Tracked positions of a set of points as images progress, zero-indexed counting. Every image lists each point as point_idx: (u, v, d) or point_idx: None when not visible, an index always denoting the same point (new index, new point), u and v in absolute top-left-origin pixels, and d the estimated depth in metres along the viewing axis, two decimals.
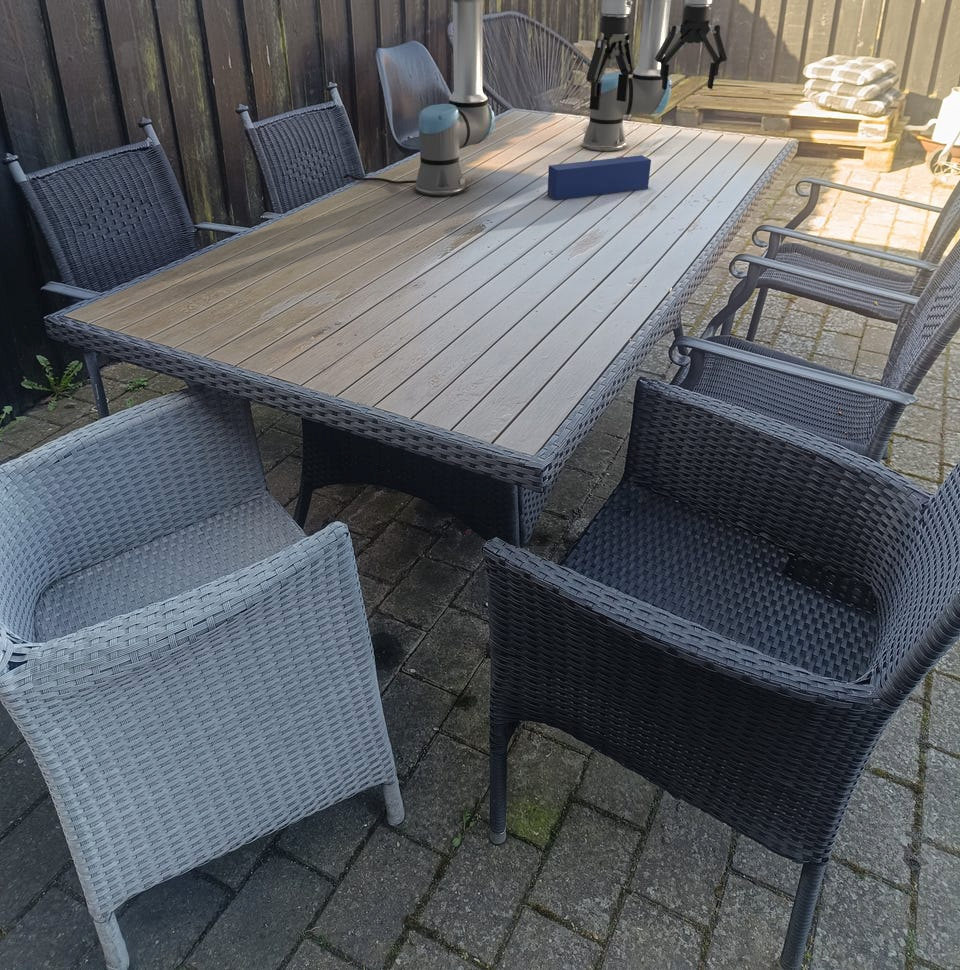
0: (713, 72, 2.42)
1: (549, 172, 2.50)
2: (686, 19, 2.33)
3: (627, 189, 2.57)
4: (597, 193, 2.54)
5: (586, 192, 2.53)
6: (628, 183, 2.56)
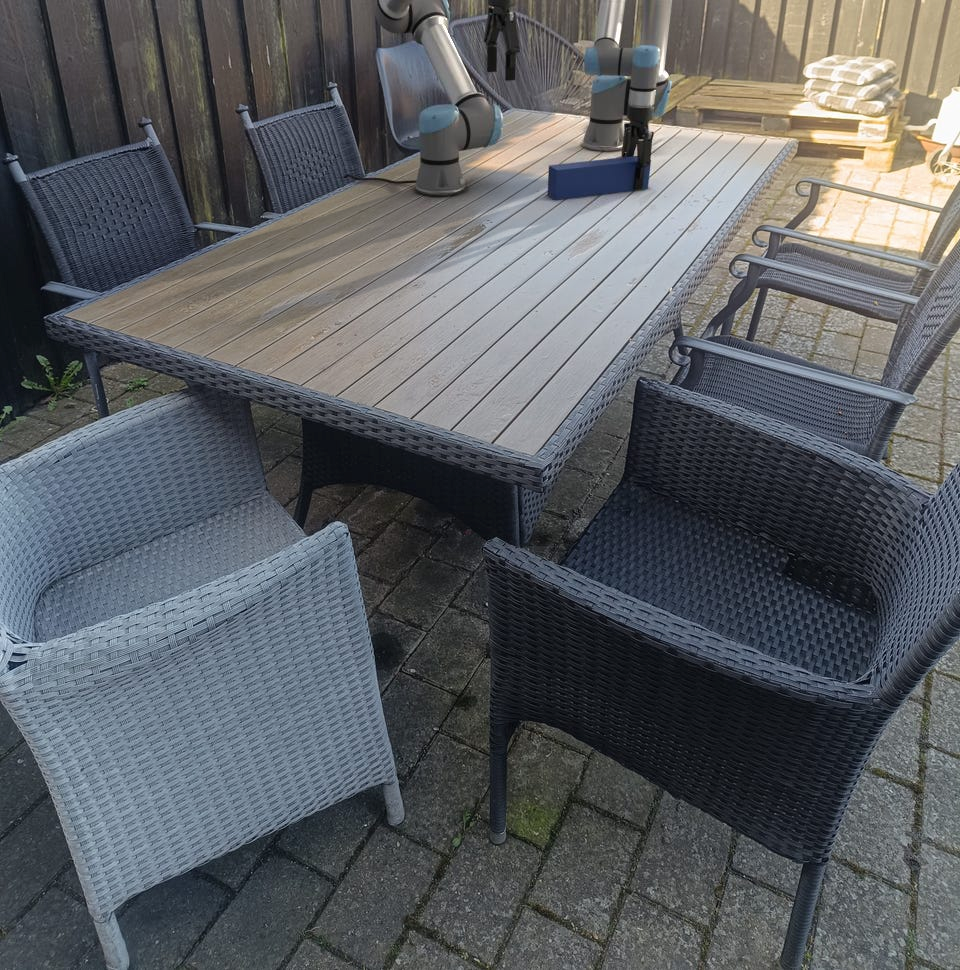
0: None
1: (549, 172, 2.50)
2: (650, 119, 2.47)
3: (627, 189, 2.57)
4: (597, 193, 2.54)
5: (586, 192, 2.53)
6: (628, 183, 2.56)
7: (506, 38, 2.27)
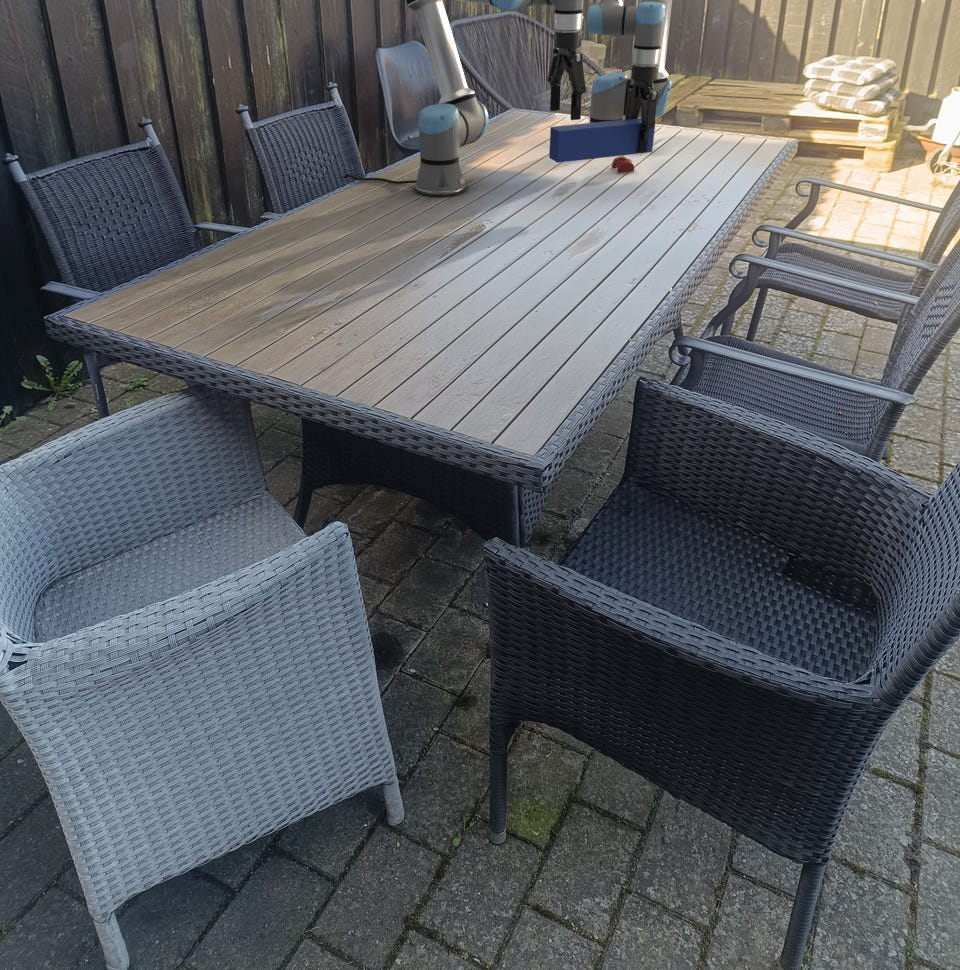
0: None
1: (551, 134, 2.44)
2: (655, 78, 2.40)
3: (631, 152, 2.51)
4: (600, 156, 2.48)
5: (589, 155, 2.46)
6: (632, 146, 2.50)
7: (572, 79, 2.29)
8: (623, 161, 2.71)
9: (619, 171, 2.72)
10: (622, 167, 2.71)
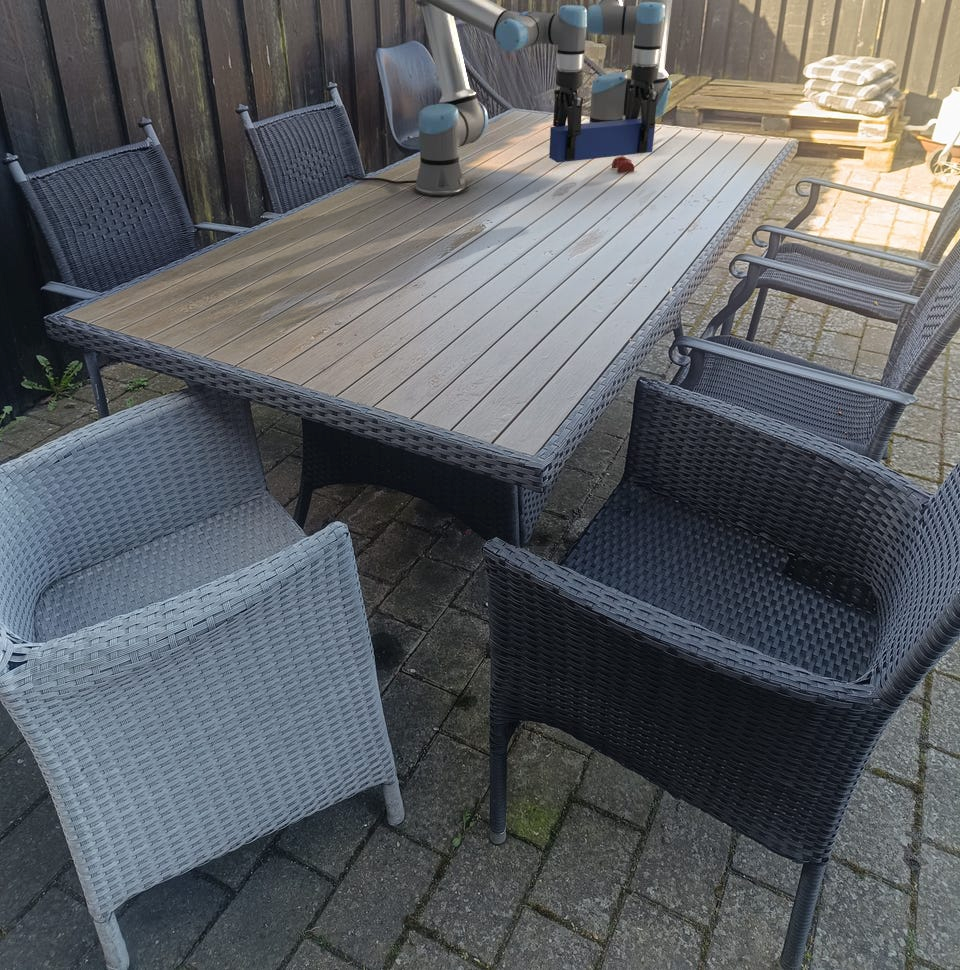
0: None
1: (551, 134, 2.44)
2: (655, 78, 2.40)
3: (631, 152, 2.51)
4: (600, 156, 2.48)
5: (589, 155, 2.46)
6: (632, 146, 2.50)
7: (569, 120, 2.37)
8: (623, 161, 2.71)
9: (619, 171, 2.72)
10: (622, 167, 2.71)
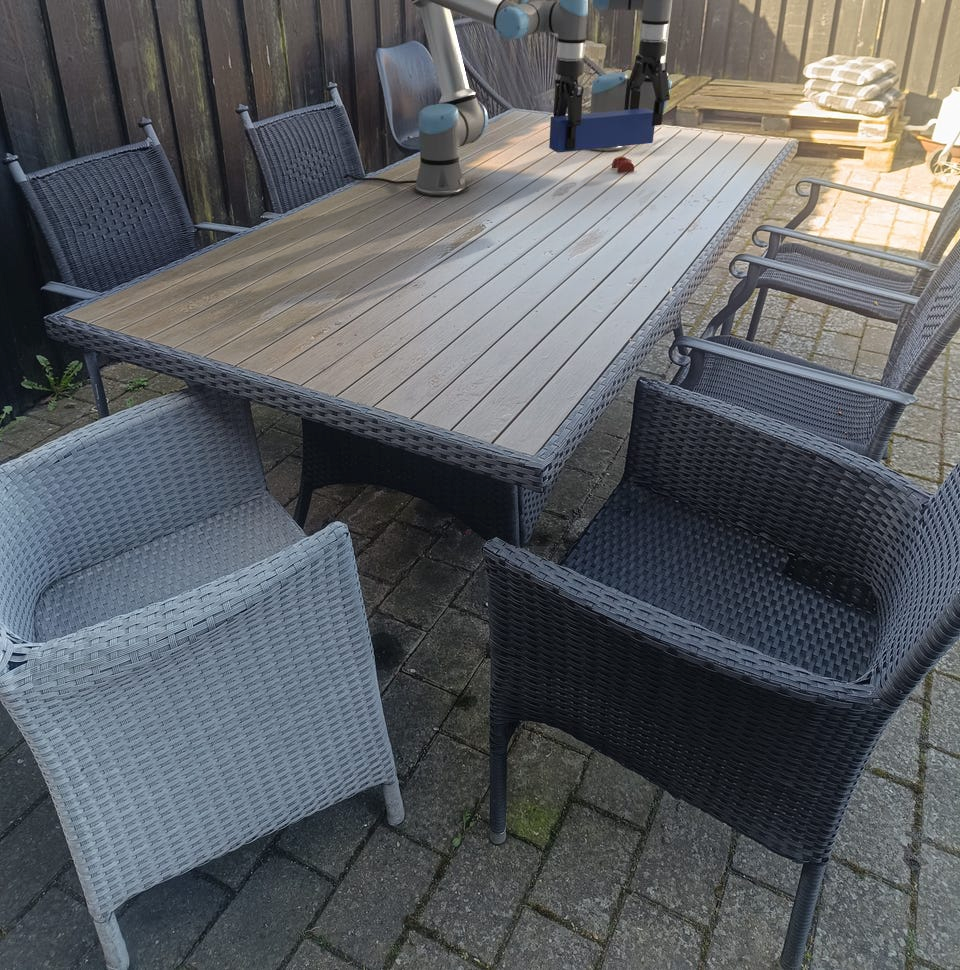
0: None
1: (551, 124, 2.42)
2: (663, 54, 2.37)
3: (631, 143, 2.49)
4: (600, 146, 2.46)
5: (589, 145, 2.45)
6: (632, 136, 2.48)
7: (570, 110, 2.36)
8: (623, 161, 2.71)
9: (619, 171, 2.72)
10: (622, 167, 2.71)
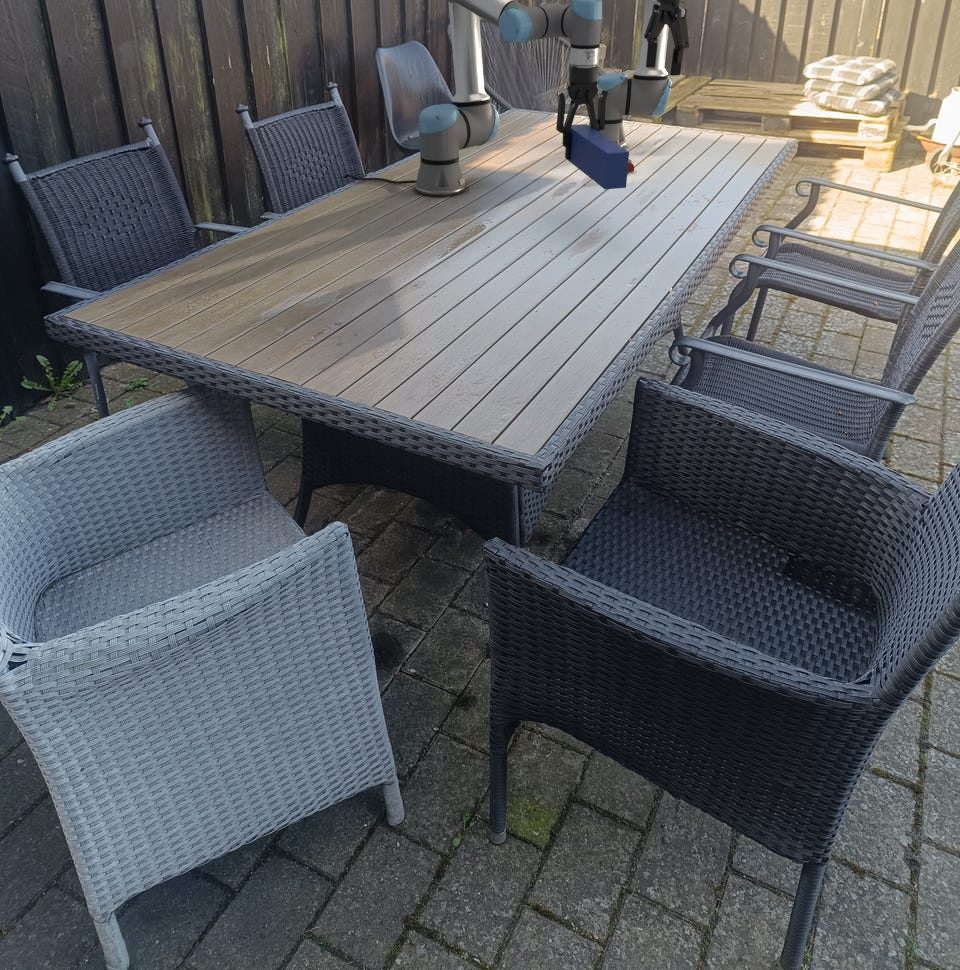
0: None
1: None
2: (682, 0, 2.31)
3: (594, 179, 2.15)
4: (581, 169, 2.23)
5: (577, 163, 2.26)
6: (595, 172, 2.14)
7: (567, 116, 2.26)
8: None
9: None
10: None
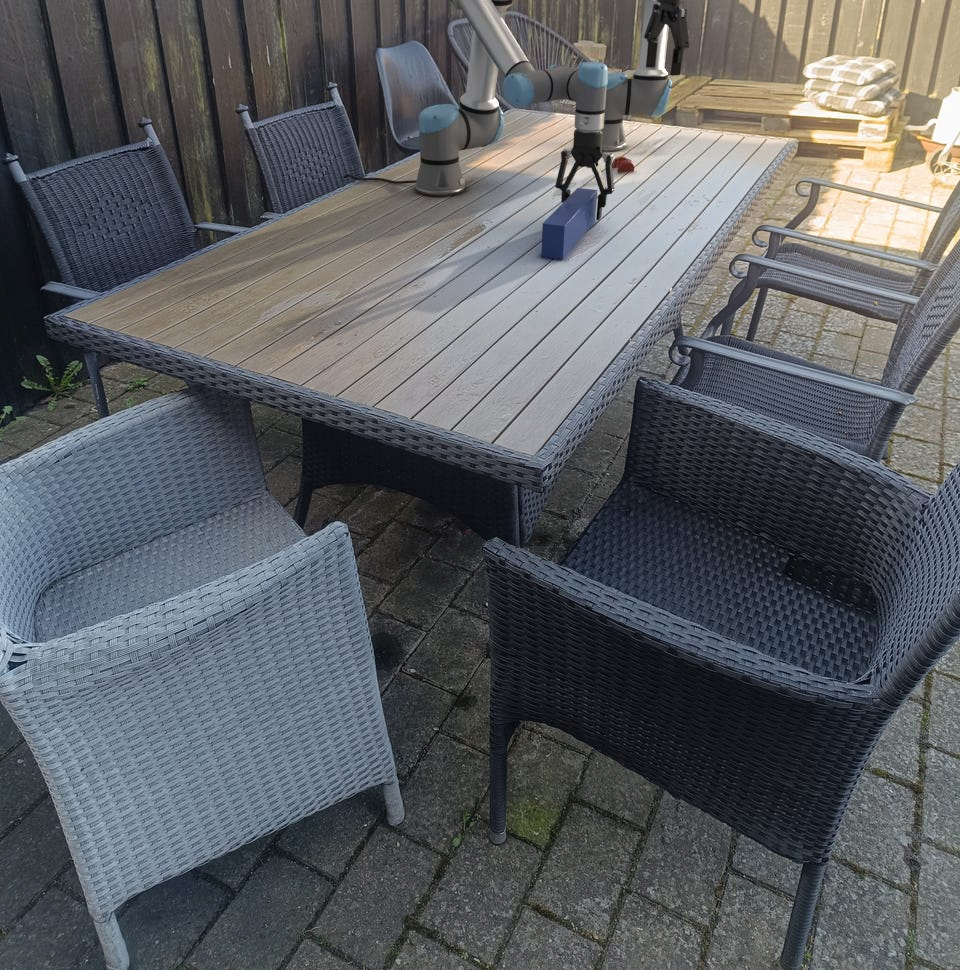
0: None
1: None
2: (682, 0, 2.31)
3: None
4: None
5: None
6: None
7: None
8: (623, 161, 2.71)
9: (619, 171, 2.72)
10: (622, 167, 2.71)
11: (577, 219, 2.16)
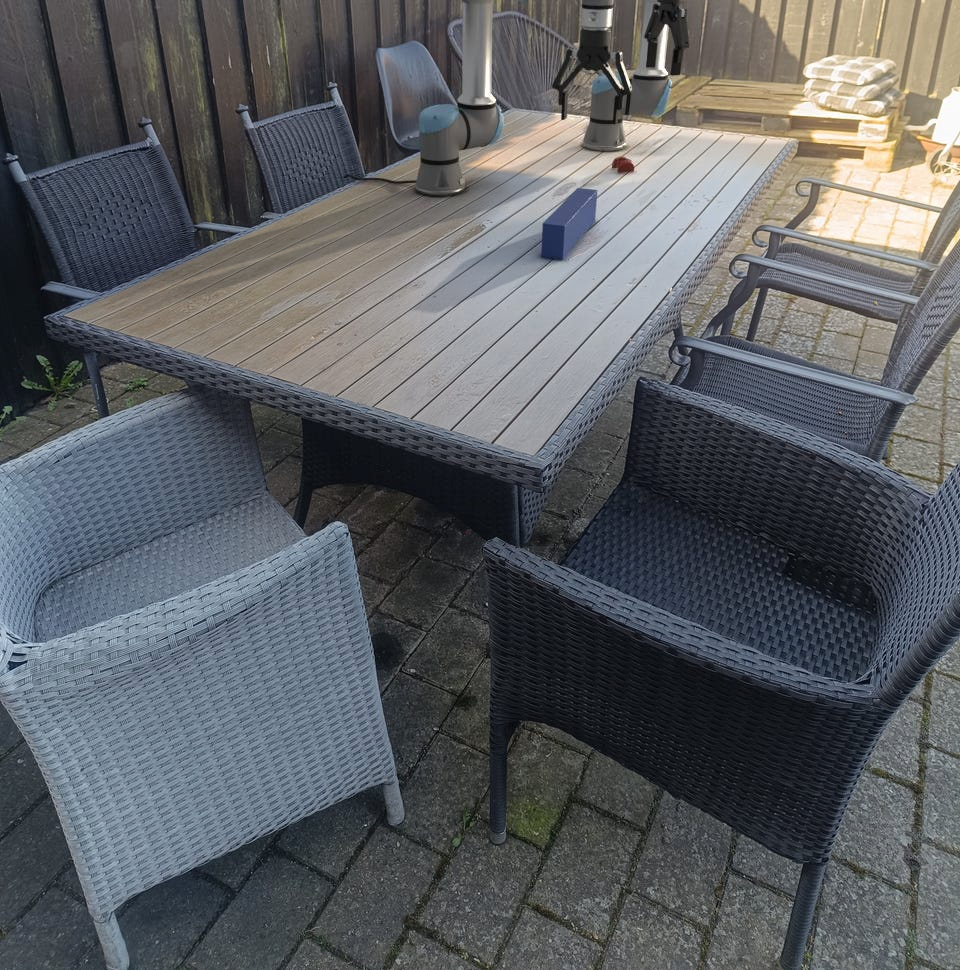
0: None
1: None
2: (682, 0, 2.31)
3: None
4: None
5: None
6: None
7: None
8: (623, 161, 2.71)
9: (619, 171, 2.72)
10: (622, 167, 2.71)
11: (577, 219, 2.16)
